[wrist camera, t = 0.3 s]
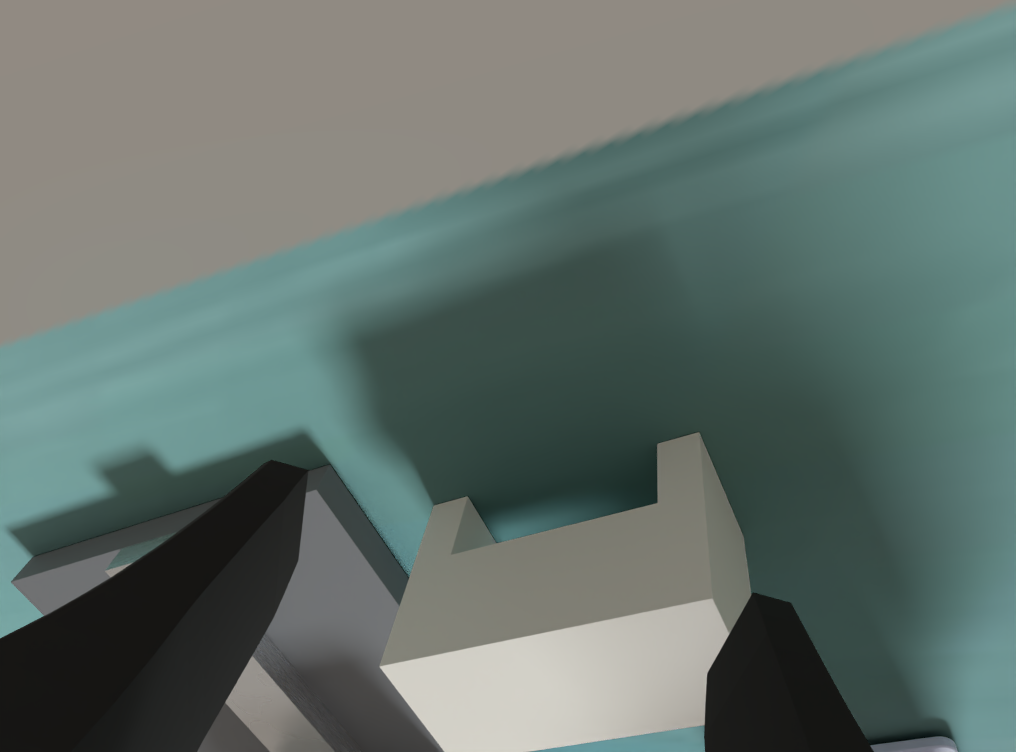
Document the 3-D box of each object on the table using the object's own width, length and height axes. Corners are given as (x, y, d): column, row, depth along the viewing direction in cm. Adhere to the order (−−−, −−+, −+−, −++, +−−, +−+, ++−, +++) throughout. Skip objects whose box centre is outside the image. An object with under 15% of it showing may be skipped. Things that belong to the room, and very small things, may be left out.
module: (743, 536, 24) (767, 715, 19) (474, 598, 27) (433, 765, 22) (699, 432, 22) (712, 598, 17) (416, 510, 25) (358, 670, 20)
